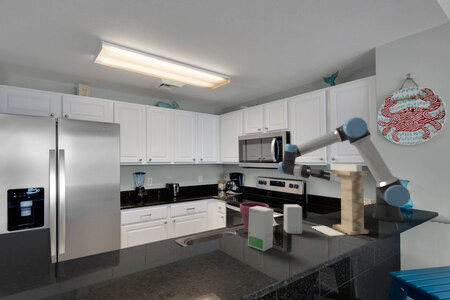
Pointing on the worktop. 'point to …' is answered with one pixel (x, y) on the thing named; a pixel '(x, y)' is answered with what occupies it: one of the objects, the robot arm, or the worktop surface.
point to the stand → (352, 202)
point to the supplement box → (293, 219)
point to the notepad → (328, 231)
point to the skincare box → (260, 228)
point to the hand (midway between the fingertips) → (339, 177)
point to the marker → (344, 167)
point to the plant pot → (245, 211)
